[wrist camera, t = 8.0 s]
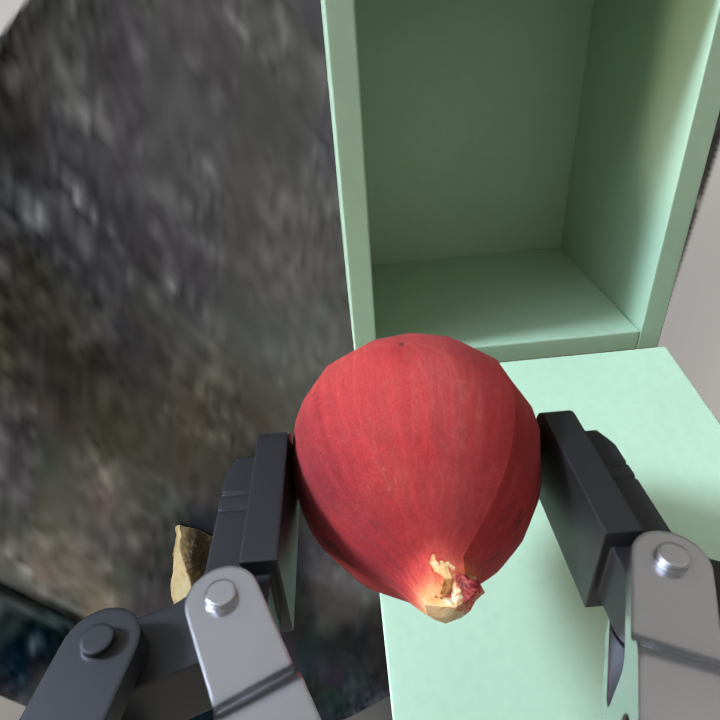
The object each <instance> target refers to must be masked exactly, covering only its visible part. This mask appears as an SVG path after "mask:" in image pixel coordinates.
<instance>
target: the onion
mask: <svg viewBox="0 0 720 720" xmlns="http://www.w3.org/2000/svg"><path fill="white" fill-rule="evenodd" d="M292 460H293V484H294V487H295V490H296V493H297V496H298V499H299V502H300V505H301V508H302V511H303V514H304V516H305V519H306V521H307V523H308V525H309V528H310V530H311V532H312V534H313V536H314V537H315V538H316V540H317V541H318V543H319V544H320V545H321V547H322V548H323V549H324V550H325V551H326V552H327V553H328V554H329V555H330V556H331V557H332V558H333V559H334V560H335V561H336V562H337V563H338V564H339V565H340V566H342V567H343V568H344V569H345V570H346V571H347V572H348V573H349V574H350V575H351V576H353V577H354V578H355V579H356V580H357V581H358V582H360V583H361V584H363V585H364V586H366V587H368V588H369V589H371V590H373V591H376V592H379V593H382V594H385V595H388V596H391V597H394V598H397V599H400V600H402V601H405V602H408V603H411V604H412V605H413V606H415V607H416V608H417V609H418V610H420V611H421V612H423V613H424V614H426V615H427V616H429V617H431V618H432V619H434V620H437V621H439V622H442V623H445V624H447V623H449V622H451V621H453V620H456V619H461V618H462V617H463V616H464V615H466V614H467V613H468V612H470V611H471V609H472V607H473V605H474V603H475V601H476V600H477V599H478V598H479V597H480V596H481V595H483V594H484V593H485V592H484V590H483V588H482V586H481V584H482V583H483V582H485V581H486V580H488V579H489V578H491V577H492V576H493V575H495V574H496V573H497V572H498V571H499V570H500V569H501V568H502V567H503V565H504V564H505V563H506V562H507V561H508V559H509V558H510V557H511V556H512V555H513V554H514V552H515V551H516V550H517V548H518V547H519V546H520V544H521V543H522V541H523V539H524V537H525V534H526V532H527V530H528V527H529V525H530V522H531V519H532V517H533V514H534V512H535V509H536V506H537V504H538V501H539V496H540V491H541V486H542V473H541V448H540V429H539V426H538V423H537V420H536V417H535V414H534V411H533V408H532V406H531V405H530V404H529V402H528V401H527V400H526V398H525V397H524V396H523V394H522V393H521V392H520V391H519V389H518V388H517V387H516V385H515V384H514V383H513V381H512V380H511V379H510V378H509V376H508V375H507V373H506V372H505V370H504V369H503V368H502V366H501V365H500V363H499V362H498V360H497V359H495V358H493V357H491V356H489V355H487V354H485V353H483V352H481V351H479V350H477V349H475V348H473V347H471V346H469V345H467V344H465V343H463V342H461V341H459V340H456V339H454V338H451V337H449V336H441V335H430V334H419V333H407V334H402V335H397V336H391V337H386V338H381V339H376V340H373V341H371V342H369V343H367V344H365V345H363V346H362V347H360V348H358V349H356V350H354V351H353V352H351V353H349V354H347V355H345V356H343V357H342V358H340V359H338V360H336V361H335V362H333V363H331V364H330V365H328V366H327V367H326V368H325V370H324V371H323V373H322V374H321V375H320V377H319V378H318V380H317V381H316V383H315V384H314V385H313V387H312V388H311V390H310V391H309V392H308V394H307V395H306V397H305V398H304V400H303V403H302V405H301V408H300V411H299V413H298V416H297V418H296V421H295V430H294V438H293V447H292Z"/></svg>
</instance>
